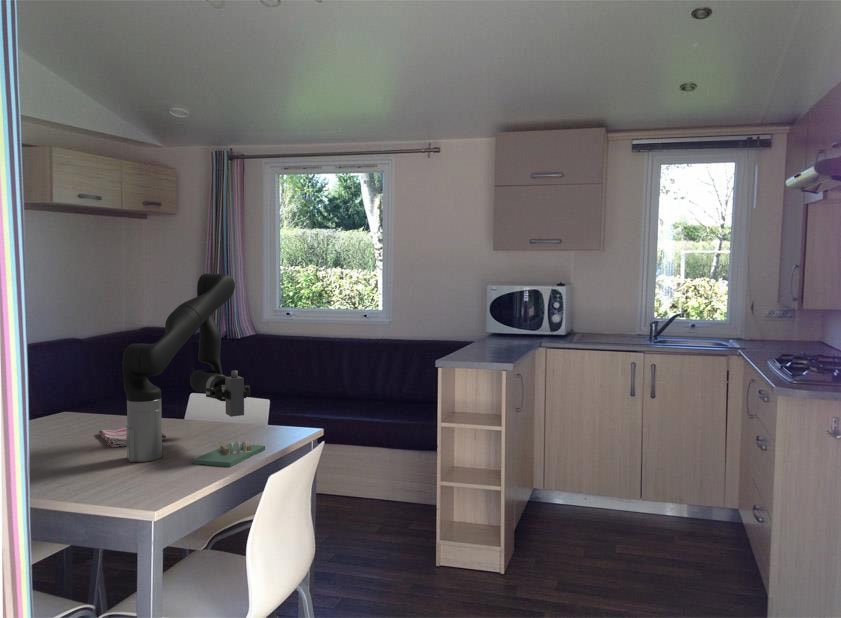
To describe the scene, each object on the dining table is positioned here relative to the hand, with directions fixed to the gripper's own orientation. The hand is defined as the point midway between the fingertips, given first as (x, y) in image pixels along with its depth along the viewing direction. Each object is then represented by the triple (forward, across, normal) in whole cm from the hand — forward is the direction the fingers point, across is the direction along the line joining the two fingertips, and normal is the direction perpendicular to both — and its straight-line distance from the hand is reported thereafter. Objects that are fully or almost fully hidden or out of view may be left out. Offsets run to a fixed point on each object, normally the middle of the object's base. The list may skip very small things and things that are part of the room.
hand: (237, 395), depth 203 cm
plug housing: (-3, 0, +6) cm, 7 cm away
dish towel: (-41, -22, +19) cm, 51 cm away
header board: (-1, -2, +18) cm, 18 cm away
